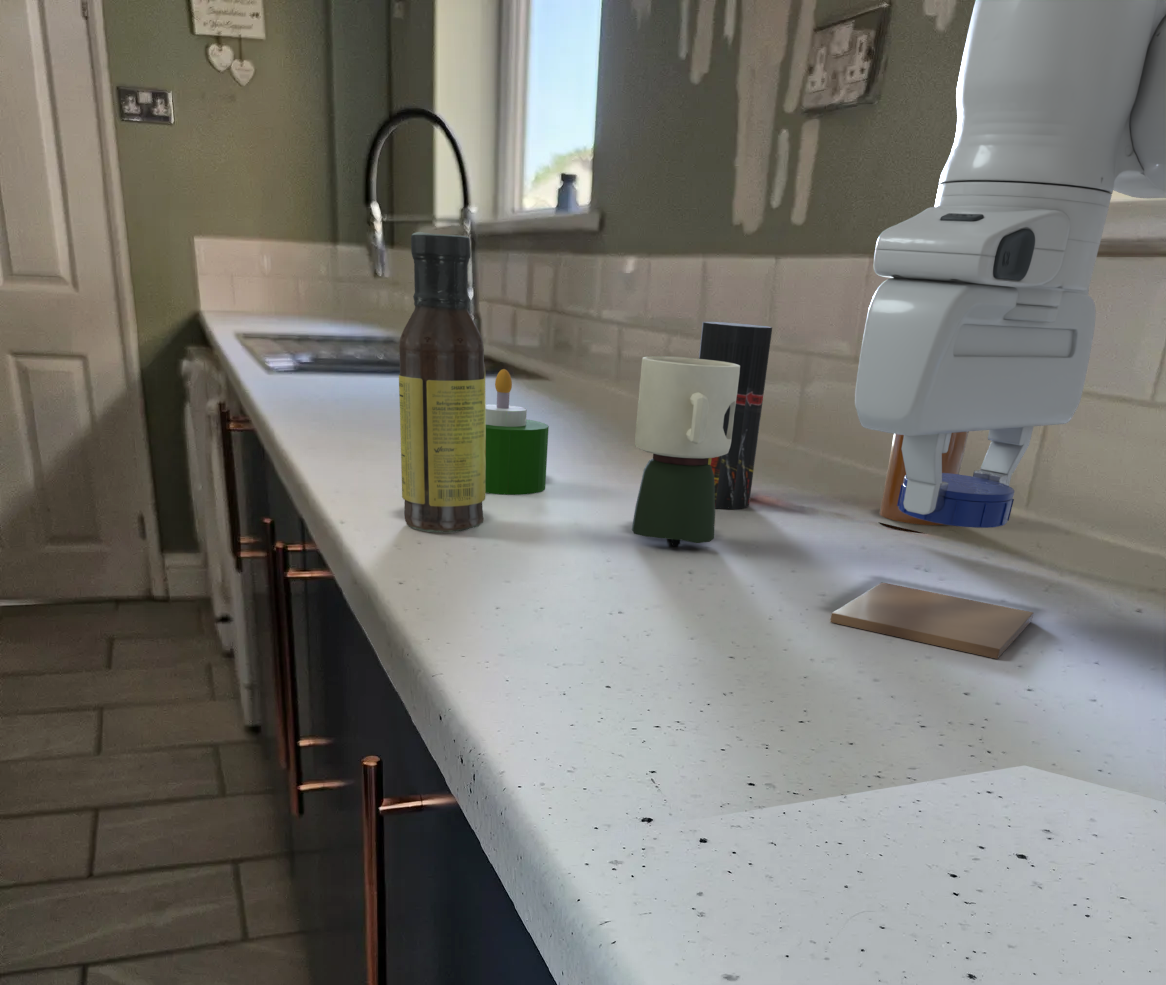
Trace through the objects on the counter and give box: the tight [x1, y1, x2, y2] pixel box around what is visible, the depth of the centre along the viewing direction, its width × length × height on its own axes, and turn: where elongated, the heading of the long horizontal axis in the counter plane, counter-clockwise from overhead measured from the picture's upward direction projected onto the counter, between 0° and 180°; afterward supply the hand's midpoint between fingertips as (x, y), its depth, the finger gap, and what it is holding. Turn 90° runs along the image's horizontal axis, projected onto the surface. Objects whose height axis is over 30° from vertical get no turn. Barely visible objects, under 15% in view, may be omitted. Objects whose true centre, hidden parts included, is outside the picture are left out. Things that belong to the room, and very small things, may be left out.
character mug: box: [631, 355, 740, 547], centre depth 81 cm, size 11×7×13 cm, turn 6°
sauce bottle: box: [398, 231, 487, 533], centre depth 79 cm, size 6×6×20 cm
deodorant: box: [698, 321, 773, 510], centre depth 96 cm, size 6×6×15 cm
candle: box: [485, 368, 550, 496], centre depth 97 cm, size 8×8×10 cm
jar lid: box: [897, 473, 1015, 529], centre depth 65 cm, size 6×6×2 cm
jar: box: [878, 431, 970, 535], centre depth 94 cm, size 6×6×11 cm
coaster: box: [830, 581, 1034, 660], centre depth 68 cm, size 10×10×1 cm
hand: (954, 506), depth 65 cm, fingers closed on jar lid, 6 cm apart
